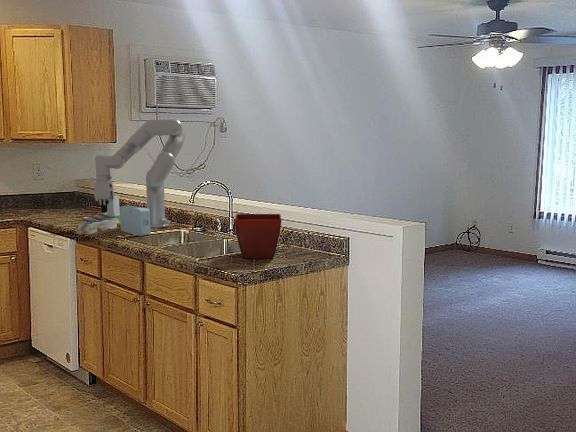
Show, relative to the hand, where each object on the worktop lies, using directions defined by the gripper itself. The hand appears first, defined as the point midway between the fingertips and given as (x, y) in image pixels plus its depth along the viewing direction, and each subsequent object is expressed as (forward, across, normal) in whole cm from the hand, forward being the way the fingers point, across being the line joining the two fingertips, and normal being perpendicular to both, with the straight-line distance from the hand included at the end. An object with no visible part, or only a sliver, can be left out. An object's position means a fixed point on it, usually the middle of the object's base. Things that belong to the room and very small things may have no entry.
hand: (104, 212), depth 372 cm
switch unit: (+9, -4, +8) cm, 12 cm away
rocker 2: (+3, -3, +8) cm, 9 cm away
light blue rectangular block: (+9, -25, +7) cm, 28 cm away
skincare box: (+9, +8, -16) cm, 20 cm away
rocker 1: (+4, -3, +16) cm, 16 cm away
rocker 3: (+3, -3, 0) cm, 4 cm away
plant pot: (+8, -112, +40) cm, 119 cm away
